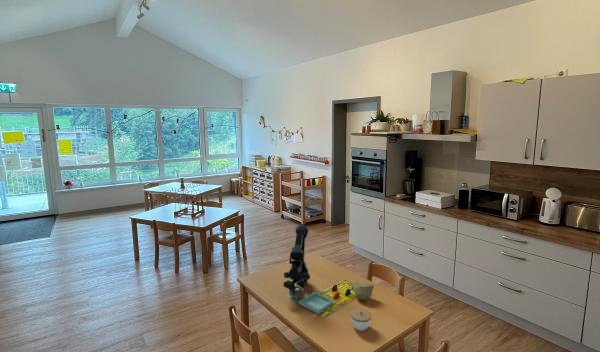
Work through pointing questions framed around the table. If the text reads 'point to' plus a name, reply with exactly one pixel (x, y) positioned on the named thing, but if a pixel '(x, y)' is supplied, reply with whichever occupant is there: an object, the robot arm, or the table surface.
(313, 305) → the tray
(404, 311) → the table surface
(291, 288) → the robot arm
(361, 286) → the grey bowl
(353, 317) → the lidded jar
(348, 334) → the table surface
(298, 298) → the grey square knobbed piece
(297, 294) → the walnut square frame
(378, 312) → the table surface
